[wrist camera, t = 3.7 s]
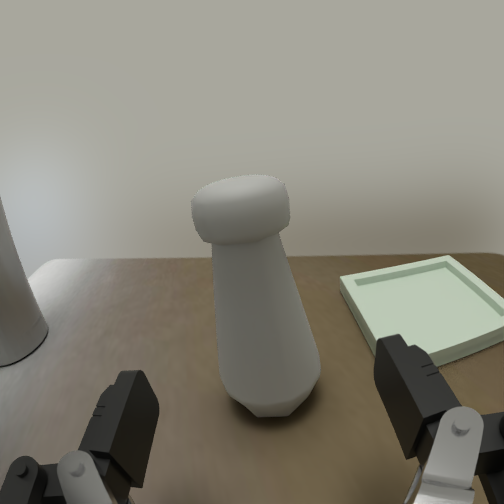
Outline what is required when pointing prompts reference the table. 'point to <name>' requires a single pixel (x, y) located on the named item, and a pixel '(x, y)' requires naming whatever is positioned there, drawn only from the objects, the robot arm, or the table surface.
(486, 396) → the table surface
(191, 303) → the table surface
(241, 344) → the salt shaker
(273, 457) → the table surface
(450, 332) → the tray
